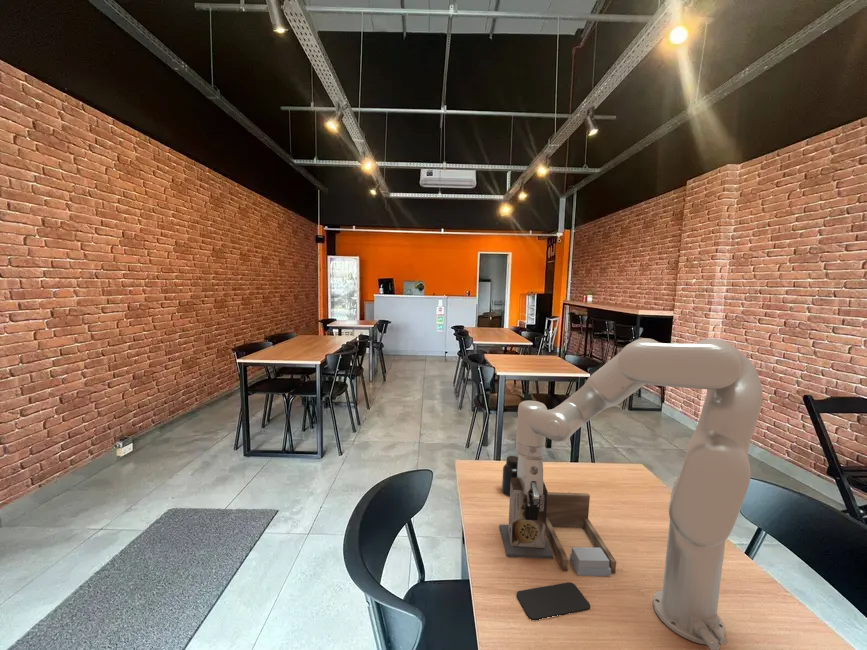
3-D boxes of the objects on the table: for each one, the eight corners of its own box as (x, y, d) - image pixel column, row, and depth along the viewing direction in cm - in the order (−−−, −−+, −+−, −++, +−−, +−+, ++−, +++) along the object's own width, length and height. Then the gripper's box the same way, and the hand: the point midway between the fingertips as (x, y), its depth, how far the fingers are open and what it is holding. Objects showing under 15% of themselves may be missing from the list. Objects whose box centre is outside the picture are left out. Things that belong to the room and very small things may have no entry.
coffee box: (540, 533, 103) (543, 478, 101) (545, 549, 97) (548, 491, 95) (507, 530, 104) (510, 476, 102) (510, 546, 97) (513, 488, 96)
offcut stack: (610, 577, 89) (611, 561, 89) (578, 576, 89) (579, 561, 89) (600, 561, 94) (601, 547, 94) (569, 561, 94) (571, 546, 94)
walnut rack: (615, 572, 90) (618, 534, 89) (562, 570, 90) (565, 532, 89) (585, 525, 108) (588, 493, 107) (541, 523, 108) (543, 491, 107)
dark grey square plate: (553, 558, 94) (553, 555, 94) (507, 556, 94) (507, 554, 94) (540, 528, 106) (540, 526, 106) (499, 527, 106) (499, 524, 106)
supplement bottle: (497, 489, 127) (499, 455, 126) (513, 485, 130) (515, 452, 129) (509, 499, 121) (511, 464, 120) (526, 495, 124) (528, 461, 122)
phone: (593, 607, 80) (530, 620, 76) (592, 611, 80) (530, 623, 76) (572, 581, 87) (514, 591, 83) (572, 584, 87) (514, 594, 83)
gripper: (554, 463, 89) (550, 530, 91) (535, 435, 106) (532, 491, 108) (523, 462, 89) (520, 528, 91) (509, 434, 106) (507, 490, 108)
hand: (526, 508), depth 99 cm, fingers open, 9 cm apart
